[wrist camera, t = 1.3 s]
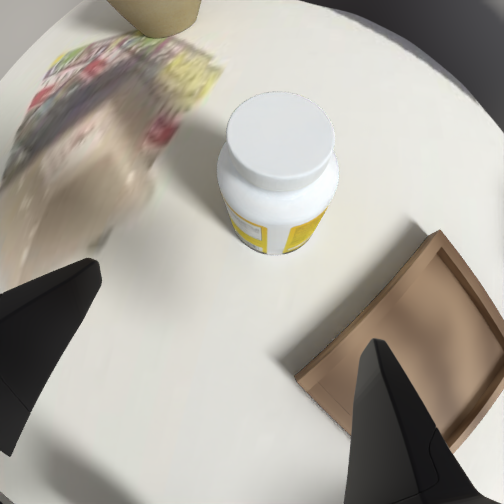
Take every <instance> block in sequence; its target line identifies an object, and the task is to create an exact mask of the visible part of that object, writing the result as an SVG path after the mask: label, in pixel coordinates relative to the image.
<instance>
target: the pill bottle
mask: <svg viewBox="0 0 504 504" xmlns="http://www.w3.org/2000/svg"><path fill="white" fill-rule="evenodd" d="M334 144H335V133H334V128H333V125H332V122H331V120H330V118H329V117H328V116H327V114H326V113H325V112H324V110H323V109H322V108H321V107H319V106H318V105H317V104H316V103H314V102H313V101H311V100H309V99H308V98H305V97H303V96H301V95H298V94H294V93H289V92H267V93H263V94H259V95H256V96H254V97H251V98H249V99H248V100H246V101H244V102H243V103H242V104H241V105H239V106H238V107H237V108H236V109H235V111H234V112H233V113H232V115H231V117H230V119H229V121H228V124H227V128H226V142H225V143H224V145H223V147H222V149H221V151H220V154H219V157H218V162H217V179H218V184H219V188H220V191H221V194H222V197H223V199H224V202H225V205H226V207H227V210H228V213H229V216H230V219H231V221H232V224H233V227H234V230H235V232H236V233H237V235H238V237H239V238H240V239H241V240H242V241H243V242H244V243H245V244H246V245H247V246H248V247H249V248H251V249H253V250H254V251H256V252H259V253H262V254H266V255H284V254H288V253H291V252H293V251H295V250H297V249H299V248H300V247H301V246H303V245H304V244H305V243H306V242H307V241H308V240H309V238H310V237H311V235H312V234H313V232H314V230H315V229H316V227H317V225H318V223H319V222H320V220H321V218H322V217H323V215H324V213H325V211H326V209H327V208H328V206H329V204H330V202H331V200H332V199H333V197H334V194H335V192H336V189H337V186H338V180H339V166H338V161H337V158H336V155H335V152H334V150H333V149H334Z"/></svg>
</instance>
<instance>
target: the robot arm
mask: <svg viewBox="0 0 504 504" xmlns="http://www.w3.org/2000/svg"><path fill="white" fill-rule="evenodd" d="M101 284H102V277H101V271H100V266H99V263H98V261H97V260H94V259H91V258H85V259H83V260H80V261H78V262H75V263H73V264H70V265H68V266H65V267H63V268H60V269H58V270H55V271H53V272H50V273H48V274H46V275H43V276H41V277H38V278H36V279H34V280H31V281H29V282H27V283H24V284H22V285H20V286H17V287H15V288H13V289H10V290H8V291H6V292H4V293H3V294H0V451H2V452H3V453H5V454H6V455H8V456H9V457H10V456H11V455H12V453H13V450H14V448H15V446H16V443H17V441H18V439H19V437H20V435H21V432H22V430H23V428H24V426H25V424H26V422H27V420H28V418H29V416H30V412H31V411H32V409H33V407H34V405H35V403H36V401H37V399H38V397H39V395H40V394H41V392H42V390H43V388H44V386H45V384H46V382H47V381H48V379H49V377H50V375H51V373H52V371H53V370H54V368H55V366H56V364H57V363H58V361H59V359H60V357H61V356H62V354H63V352H64V351H65V349H66V347H67V346H68V344H69V342H70V341H71V339H72V337H73V336H74V334H75V333H76V331H77V329H78V328H79V326H80V324H81V323H82V321H83V319H84V317H85V316H86V314H87V312H88V310H89V308H90V306H91V304H92V302H93V300H94V298H95V296H96V294H97V292H98V290H99V289H100V287H101ZM0 504H14V503H13V502H12V501H11V500H9V499H8V498H7V497H6V496H5V495H4V494H2V493H1V492H0ZM344 504H501V503H498V502H496V501H494V500H491V499H489V498H487V497H485V496H483V495H482V494H480V493H479V492H478V491H477V490H476V489H475V487H474V486H473V484H472V483H471V481H470V480H469V478H468V477H467V475H466V474H465V472H464V470H463V469H462V467H461V466H460V464H459V463H458V461H457V460H456V458H455V457H454V455H453V453H452V452H451V450H450V449H449V447H448V445H447V443H446V442H445V440H444V438H443V437H442V435H441V433H440V431H439V429H438V428H437V427H436V424H435V422H434V420H433V419H432V417H431V415H430V413H429V412H428V410H427V408H426V406H425V405H424V403H423V401H422V400H421V398H420V396H419V394H418V393H417V391H416V389H415V388H414V386H413V384H412V383H411V381H410V379H409V378H408V376H407V375H406V373H405V371H404V370H403V368H402V366H401V365H400V363H399V362H398V360H397V358H396V357H395V355H394V354H393V352H392V350H391V349H390V347H389V346H388V344H387V343H386V341H385V340H382V339H377V338H372V339H371V340H370V342H369V343H368V345H367V346H366V348H365V349H364V351H363V352H362V354H361V356H360V359H359V366H358V374H357V381H356V387H355V394H354V401H353V415H352V431H351V444H350V456H349V466H348V475H347V483H346V491H345V498H344Z"/></svg>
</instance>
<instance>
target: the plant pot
mask: <svg viewBox="0 0 504 504" xmlns="http://www.w3.org/2000/svg"><path fill="white" fill-rule="evenodd" d="M107 1H108V2H109V3H110V4H111V5H112V6H113V7H114V8H115V9H116V10H117V11H118V12H119V13H120V14H121V15H122V16H123V17H124V18H125V19H126V20H127V21H129V22H130V23H131V24H132V25H133V26H134V27H135V28H137V29H138V30H139V31H140V32H141V33H143V34H144V35H145V36H147V37H150V38H162V37H168V36H172V35H175V34H177V33H180V32H182V31H184V30H185V29H187V28H189V27H190V26H191V25H192V24H193V23H194V22H195V21H196V19H197V15H198V12H199V8H200V4H201V0H107Z"/></svg>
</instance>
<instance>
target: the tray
mask: <svg viewBox="0 0 504 504" xmlns="http://www.w3.org/2000/svg"><path fill="white" fill-rule="evenodd" d="M372 338H377V339H382V340H385V341H386V343H387V344H388V346H389V347H390V349H391V350H392V352H393V354H394V355H395V357H396V358H397V360H398V362H399V363H400V365H401V366H402V368H403V370H404V371H405V373H406V375H407V376H408V378H409V379H410V381H411V383H412V384H413V386H414V388H415V389H416V391H417V393H418V394H419V396H420V398H421V400H422V401H423V403H424V405H425V406H426V408H427V410H428V412H429V413H430V415H431V417H432V419H433V420H434V422H435V424H436V427H437V428H438V429H439V431H440V433H441V435H442V437H443V438H444V440H445V442H446V443H447V445H448V447H449V449H450V450H451V452H452V453H454V452H455V451H456V450H457V449H458V448H459V447H460V446H461V445H462V443H463V442H464V441H465V440H466V439H467V437H468V436H469V435H470V434H471V433H472V431H473V430H474V429H475V428H476V426H477V425H478V424H479V423H480V421H481V420H482V419H483V417H484V416H485V415H486V413H487V412H488V411H489V409H490V408H491V407H492V405H493V404H494V402H495V401H496V399H497V398H498V396H499V395H500V394H501V392H502V391H503V389H504V320H503V318H502V316H501V315H500V313H499V311H498V310H497V308H496V307H495V305H494V303H493V302H492V300H491V299H490V297H489V296H488V294H487V292H486V291H485V289H484V288H483V286H482V285H481V283H480V282H479V281H478V279H477V278H476V276H475V275H474V273H473V272H472V271H471V269H470V268H469V266H468V265H467V264H466V262H465V261H464V260H463V258H462V257H461V256H460V254H459V253H458V252H457V250H456V249H455V248H454V246H453V245H452V244H451V242H450V241H449V240H448V239H447V237H446V236H445V235H444V234H443V232H442V231H441V230H438V231H436V232H434V233H432V234H431V235H429V236H428V237H427V238H426V239H425V241H424V242H423V243H422V244H421V246H420V247H419V248H418V249H417V250H416V252H415V253H414V254H413V255H412V257H411V258H410V259H409V260H408V261H407V263H406V264H405V265H404V266H403V267H402V268H401V270H400V271H399V272H398V273H397V274H396V275H395V276H394V278H393V279H392V280H391V281H390V282H389V283H388V284H387V285H386V287H385V288H384V289H383V290H382V291H381V292H380V293H379V294H378V295H377V296H376V298H375V299H374V300H373V301H372V302H371V303H370V304H369V305H368V306H367V307H366V308H365V309H364V310H363V311H362V312H361V313H360V314H359V315H358V316H357V318H356V319H355V320H354V321H353V322H352V323H351V324H350V325H349V326H348V327H347V328H346V329H345V330H344V331H343V332H342V333H341V334H340V335H338V336H337V337H336V338H335V339H334V340H333V341H332V342H331V343H330V344H329V345H328V346H327V347H326V348H325V349H324V350H323V351H322V352H321V353H320V354H318V355H317V356H316V357H315V358H314V359H313V360H312V361H311V362H310V363H309V364H308V365H306V366H305V367H304V368H303V369H302V370H301V371H300V372H299V373H297V374H296V375H295V376H294V377H295V379H296V381H297V382H298V384H299V385H300V386H301V387H302V388H303V389H304V390H305V391H306V392H307V393H308V394H309V395H310V396H311V397H312V398H313V399H314V400H315V401H316V402H317V403H318V404H319V405H320V406H321V407H322V408H323V409H324V410H325V411H326V412H327V413H328V414H329V415H330V416H331V417H332V418H333V419H334V420H335V421H336V422H337V423H338V424H339V425H340V426H341V427H342V428H343V429H344V430H345V431H347V432H348V433H349V434H350V435H351V431H352V415H353V401H354V394H355V387H356V381H357V374H358V366H359V359H360V356H361V354H362V352H363V351H364V349H365V348H366V346H367V345H368V343H369V342H370V340H371V339H372Z"/></svg>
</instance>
